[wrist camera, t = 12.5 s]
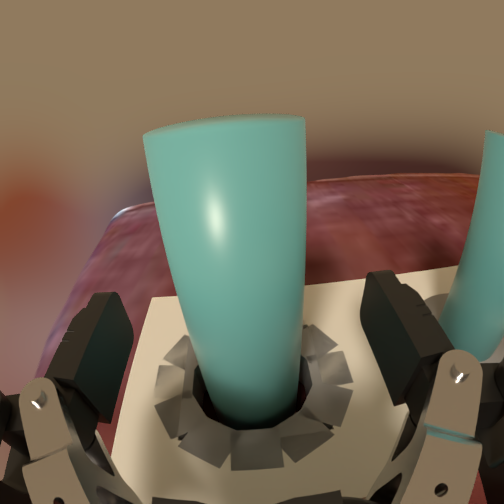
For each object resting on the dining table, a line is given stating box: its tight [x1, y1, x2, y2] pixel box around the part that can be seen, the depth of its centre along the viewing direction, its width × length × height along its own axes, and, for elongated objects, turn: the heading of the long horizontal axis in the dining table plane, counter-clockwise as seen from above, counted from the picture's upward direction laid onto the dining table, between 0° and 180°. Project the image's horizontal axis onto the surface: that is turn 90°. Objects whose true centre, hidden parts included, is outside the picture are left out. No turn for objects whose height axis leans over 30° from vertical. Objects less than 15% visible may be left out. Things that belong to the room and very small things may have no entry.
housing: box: [111, 265, 504, 504], centre depth 14 cm, size 14×26×3 cm, turn 93°
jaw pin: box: [143, 114, 306, 431], centre depth 11 cm, size 4×4×14 cm
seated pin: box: [438, 130, 504, 362], centre depth 11 cm, size 4×4×14 cm
